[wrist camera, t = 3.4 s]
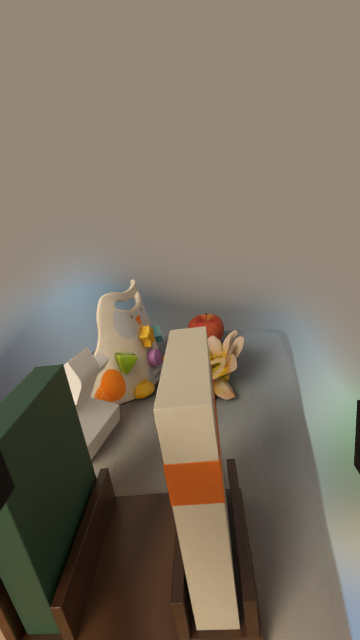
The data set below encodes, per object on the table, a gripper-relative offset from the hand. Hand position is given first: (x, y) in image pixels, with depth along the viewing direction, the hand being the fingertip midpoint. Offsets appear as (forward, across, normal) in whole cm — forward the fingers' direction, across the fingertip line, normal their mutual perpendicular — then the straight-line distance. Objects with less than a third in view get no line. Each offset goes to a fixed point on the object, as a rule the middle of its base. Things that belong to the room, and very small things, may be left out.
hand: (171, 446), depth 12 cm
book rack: (+10, -6, -20) cm, 23 cm away
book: (+10, 0, -19) cm, 22 cm away
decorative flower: (+38, 0, -21) cm, 44 cm away
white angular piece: (+26, -17, -21) cm, 37 cm away
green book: (+10, -12, -19) cm, 25 cm away
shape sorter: (+42, -12, -21) cm, 49 cm away
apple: (+53, +1, -21) cm, 57 cm away
